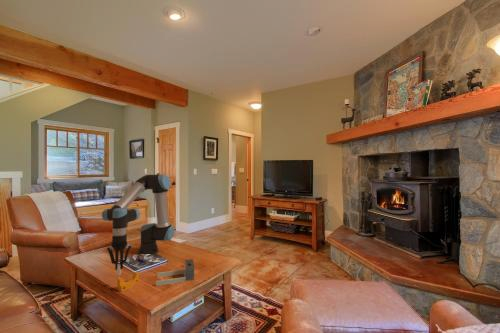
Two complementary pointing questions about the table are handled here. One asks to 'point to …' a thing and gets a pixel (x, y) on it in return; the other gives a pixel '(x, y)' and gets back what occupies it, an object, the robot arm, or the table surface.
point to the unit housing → (189, 269)
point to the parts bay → (170, 281)
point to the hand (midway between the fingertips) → (119, 274)
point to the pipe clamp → (126, 285)
